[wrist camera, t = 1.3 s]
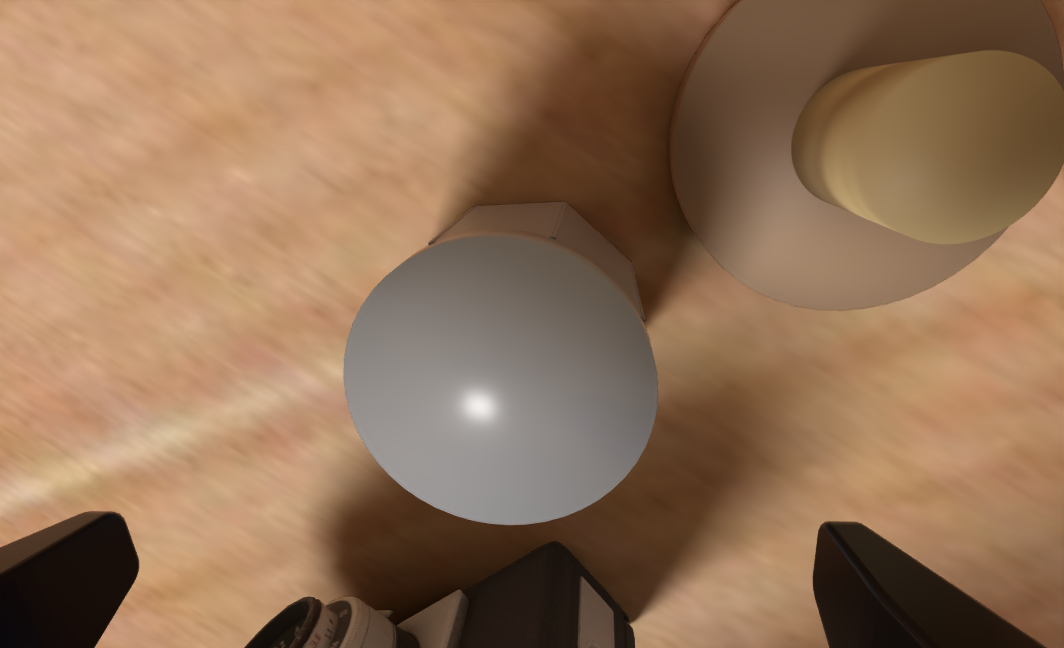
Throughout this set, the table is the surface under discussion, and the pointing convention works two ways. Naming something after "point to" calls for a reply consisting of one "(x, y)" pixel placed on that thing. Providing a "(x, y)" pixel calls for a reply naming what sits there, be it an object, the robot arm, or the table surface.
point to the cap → (505, 367)
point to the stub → (865, 141)
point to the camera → (471, 614)
